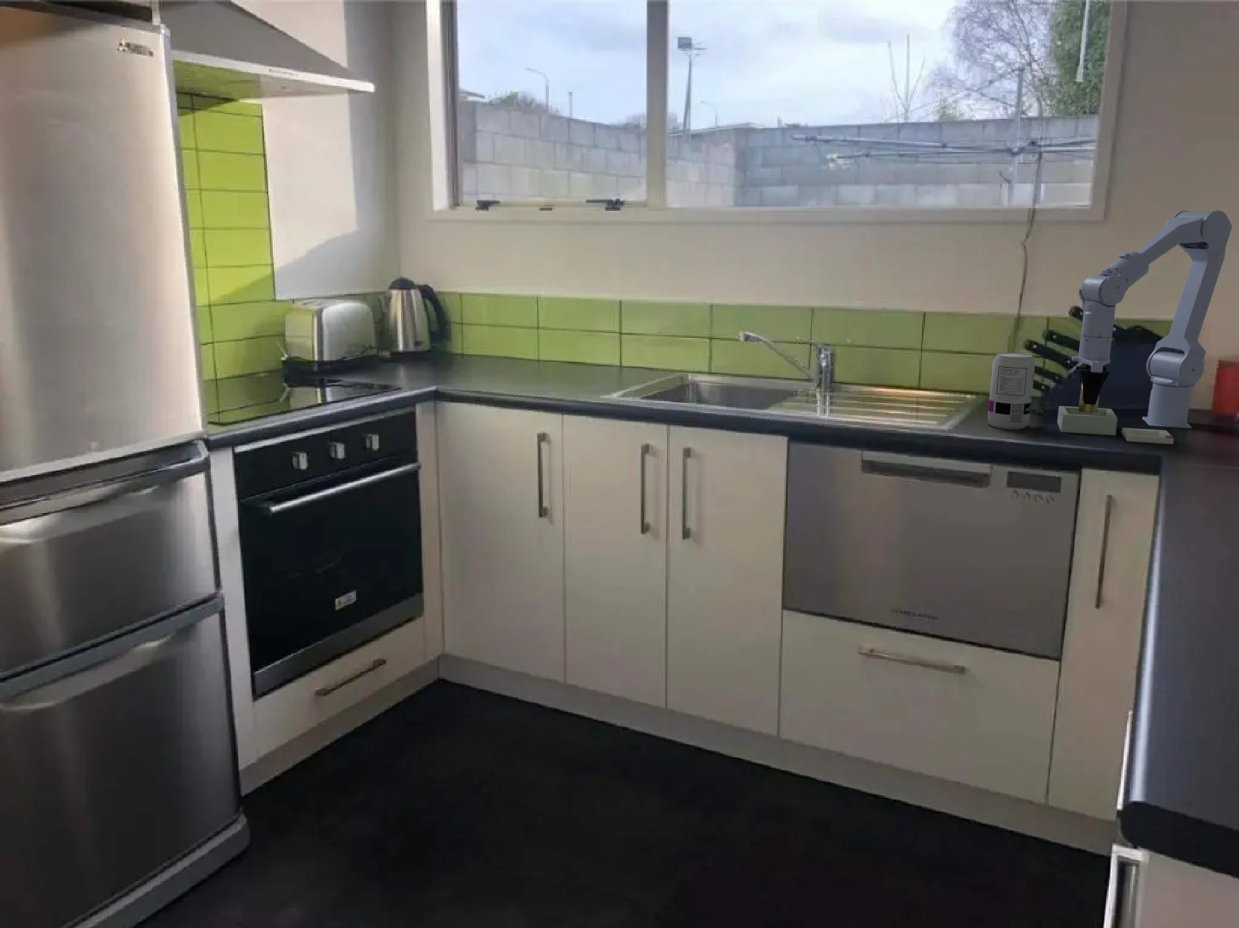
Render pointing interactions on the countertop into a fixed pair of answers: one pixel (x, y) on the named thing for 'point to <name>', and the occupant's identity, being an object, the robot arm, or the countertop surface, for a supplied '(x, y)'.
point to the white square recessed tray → (1147, 435)
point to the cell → (1087, 405)
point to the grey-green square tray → (1087, 421)
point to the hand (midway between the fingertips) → (1088, 402)
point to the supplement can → (1011, 390)
